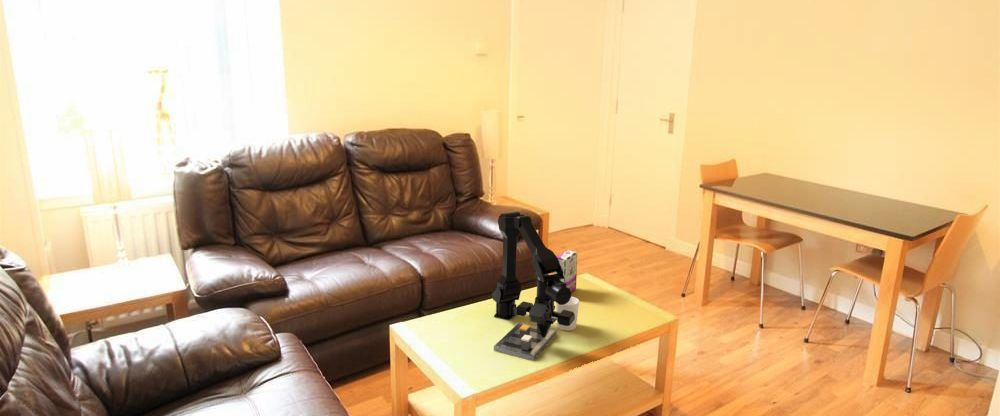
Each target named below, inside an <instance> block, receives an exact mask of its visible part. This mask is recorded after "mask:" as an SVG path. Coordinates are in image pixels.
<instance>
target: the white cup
mask: <svg viewBox="0 0 1000 416" xmlns="http://www.w3.org/2000/svg"><path fill="white" fill-rule="evenodd" d="M555 303H556V302H555ZM579 306H580V300H579V298H577V297H574V296H572V295H571V298H570V300H569V301H568V303H566V304H564V305H560V304H558V303H556V306H555V310H556V312H558V313H561V312H562V311H563V310H567V311H572V312H573V313H574V314H575V320H574V321H573V322H572V323H571V324H570V326H564V325H560V324H559V323H558V322H557V321H556V327H557V328H558V329H559V330H560V331H561V330H562V331H574V330H575V329H576V328H577V323H578V322H577V321H578V316H579Z"/></svg>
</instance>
